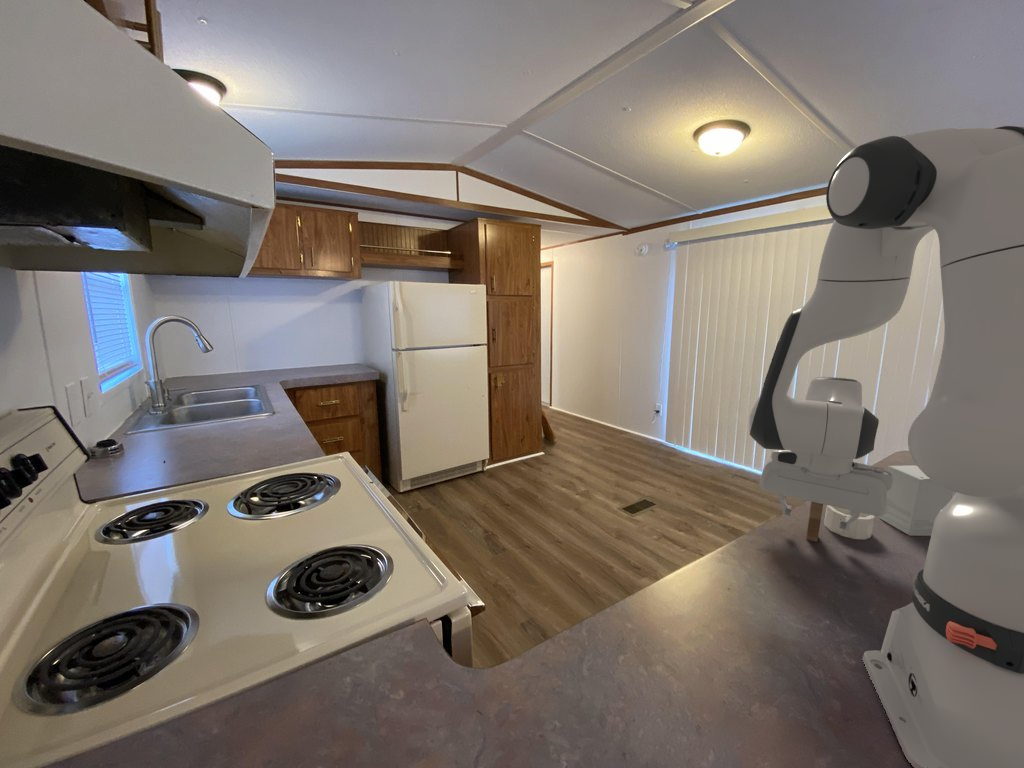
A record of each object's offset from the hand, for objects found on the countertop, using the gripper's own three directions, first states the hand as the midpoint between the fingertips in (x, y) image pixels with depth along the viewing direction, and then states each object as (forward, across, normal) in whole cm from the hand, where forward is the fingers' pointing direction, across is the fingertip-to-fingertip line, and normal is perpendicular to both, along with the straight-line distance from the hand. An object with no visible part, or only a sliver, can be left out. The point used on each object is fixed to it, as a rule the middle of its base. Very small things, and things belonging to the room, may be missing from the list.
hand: (814, 521), depth 83 cm
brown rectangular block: (+4, 0, 0) cm, 4 cm away
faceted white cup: (+4, -6, -8) cm, 11 cm away
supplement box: (+4, -17, -17) cm, 24 cm away
